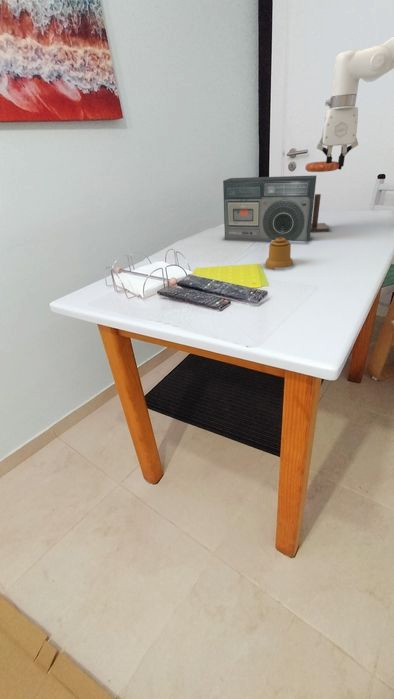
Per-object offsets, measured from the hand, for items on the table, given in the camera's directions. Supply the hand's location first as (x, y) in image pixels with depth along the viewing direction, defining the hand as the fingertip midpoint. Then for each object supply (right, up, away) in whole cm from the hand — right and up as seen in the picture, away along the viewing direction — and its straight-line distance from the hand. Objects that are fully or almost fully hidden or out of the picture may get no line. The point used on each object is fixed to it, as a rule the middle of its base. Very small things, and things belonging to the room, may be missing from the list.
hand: (334, 168), depth 115 cm
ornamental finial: (-24, -38, -19) cm, 49 cm away
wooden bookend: (-2, -17, +12) cm, 21 cm away
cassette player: (-22, -23, +6) cm, 32 cm away
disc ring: (-4, +1, 0) cm, 4 cm away
